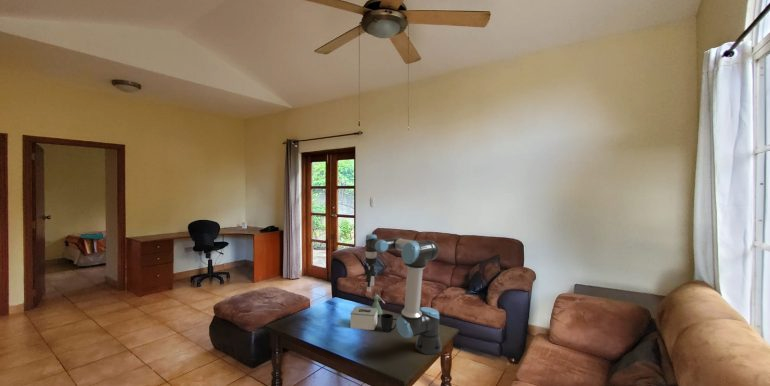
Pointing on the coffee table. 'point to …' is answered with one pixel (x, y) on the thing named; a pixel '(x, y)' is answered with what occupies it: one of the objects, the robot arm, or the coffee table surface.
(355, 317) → the box
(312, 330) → the coffee table surface
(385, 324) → the mug
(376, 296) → the character figurine
